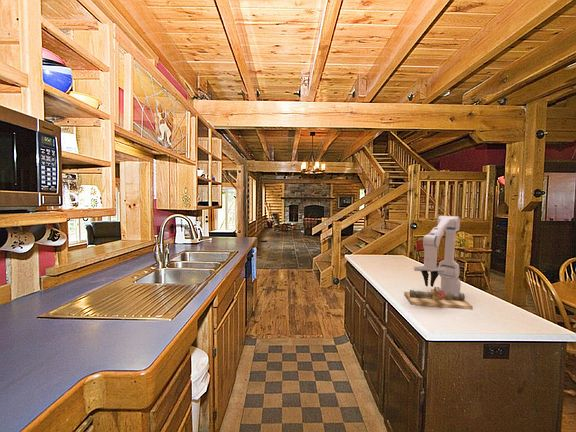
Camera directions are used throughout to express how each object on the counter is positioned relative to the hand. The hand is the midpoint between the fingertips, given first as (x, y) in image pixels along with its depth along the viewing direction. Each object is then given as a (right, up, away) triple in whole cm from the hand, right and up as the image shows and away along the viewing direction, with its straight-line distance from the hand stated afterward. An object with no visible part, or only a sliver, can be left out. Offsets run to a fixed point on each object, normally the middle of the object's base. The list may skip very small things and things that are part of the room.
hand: (429, 286), depth 149 cm
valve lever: (+6, -4, +1) cm, 7 cm away
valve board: (+6, -9, +6) cm, 12 cm away
